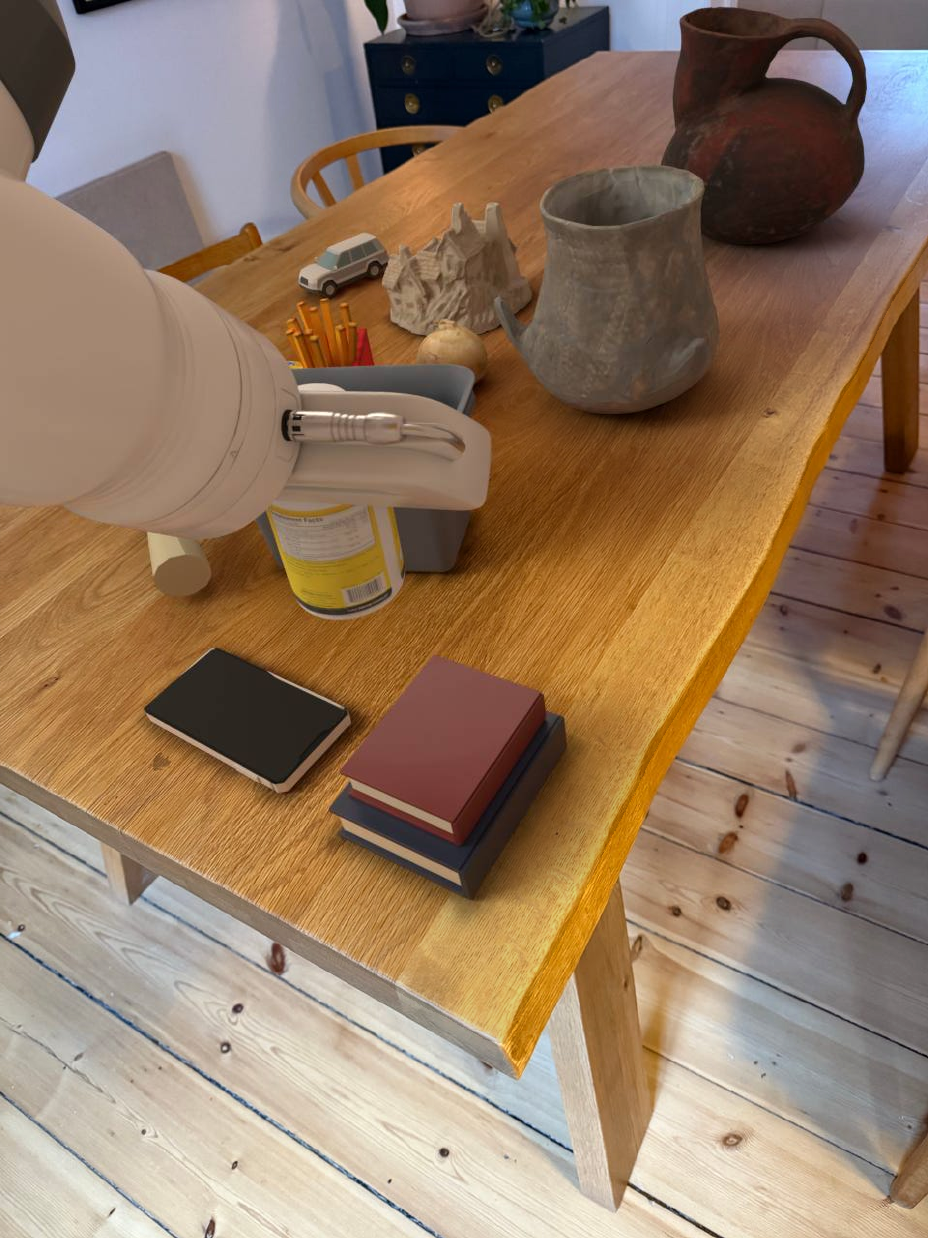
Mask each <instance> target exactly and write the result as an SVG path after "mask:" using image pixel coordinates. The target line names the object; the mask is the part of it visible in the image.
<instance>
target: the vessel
mask: <svg viewBox="0 0 928 1238" xmlns="http://www.w3.org/2000/svg"><path fill="white" fill-rule="evenodd" d="M704 190H705V188H704V184H703V180H702V179H701V178H699V177H697V176H696V175H694V174H693V173H691V172H689V171H686V170H682V169H677V168H673V167H670V166H663V165H661V164H639V165H636V166H634V165H633V166H632V165H631V166H614V167H610V168H599V169H593V170H587V171H583V172H580V173H577V174H573V175H571V176H569V177H566V178H564V179H561V180H559V181H557V182H555V183H554V184H553V185H551V186H550V187H549V188H548V189H546V191H545V192H544V193H543V195H542V197H541V200H540V203H539V209H540V214H541V218H542V222H543V226H544V229H545V230H544V231H545V237H546V255H545V264H544V271H543V276H542V281H541V285H540V290H539V294H538V298H537V301H536V306H535V310H534V313H533V317H532V318H531V319H532V320H531V321H530V322H529V323H528V324H524V323H522V322H521V321H519V319H517V317H516V316H515V314H513V312H512V311H511V309H510V308H509V307H508V305H507V304H506V302H505V301H504V300H502V299H501V298H500V297H497V298H496V299H494V308H495V310H496V313H497V315H498V317H499V320H500V322H501V327H502V328H503V330H504V332H505V335H506V336H507V338H508V340H509V342H510V343H511V345H512V346H513V347H514V349H515V350H516V352H517V353H518V354H519V356H520V357H521V359H522V361H524V363H525V364H526V366H527V367H528V369H529V371H530V372H531V373H532V375H533V377H535V379H536V380H537V381H538V382H539V384H540V385H541V386H542V387H543V388H544V389H545V390H546V391H547V392H548V393H549V394H551V395H552V396H554V398H556V399H557V400H558V401H560V402H562V403H563V404H565V405H567V406H569V407H572V408H574V409H576V410H578V411H579V410H580V411H584V412H588V413H592V414H602V415H604V414H605V415H621V414H623V415H624V414H631V413H637V412H640V411H644V410H649V409H652V408H655V407H656V406H659V405H662V404H665V403H668V402H670V401H673V400H674V399H676V398H677V397H679V396H681V395H682V394H683V393H686V391H688V389H690V388H692V387H693V386H694V385H695V384H697V383H698V382H699V381H700V380H702V379H703V377H704V376H705V375H706V373H707V372H708V371H709V370H710V368H711V367H712V365H713V363H714V361H715V357H716V356H717V352H718V348H719V342H720V324H719V318H718V312H717V307H716V305H715V301H714V296H713V292H712V288H711V284H710V280H709V279H710V278H709V275H708V271H707V267H706V262H705V256H704V250H703V249H704V248H703V242H702V234H701V226H700V208H701V202H702V197H703V194H704Z"/></svg>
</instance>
